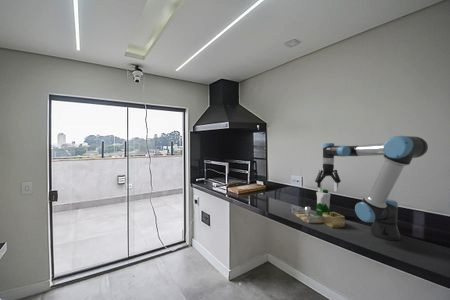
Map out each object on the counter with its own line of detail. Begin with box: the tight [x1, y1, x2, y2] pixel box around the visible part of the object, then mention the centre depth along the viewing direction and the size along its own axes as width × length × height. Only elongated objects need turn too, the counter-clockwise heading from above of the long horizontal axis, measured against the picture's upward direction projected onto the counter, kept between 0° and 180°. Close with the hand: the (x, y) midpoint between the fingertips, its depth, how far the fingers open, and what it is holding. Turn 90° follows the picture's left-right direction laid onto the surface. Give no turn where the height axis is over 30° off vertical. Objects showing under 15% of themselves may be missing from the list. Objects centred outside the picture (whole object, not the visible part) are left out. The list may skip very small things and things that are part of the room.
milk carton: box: [315, 189, 331, 217], centre depth 167 cm, size 9×9×20 cm
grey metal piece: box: [294, 206, 322, 221], centre depth 158 cm, size 19×10×7 cm, turn 12°
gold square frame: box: [321, 211, 346, 229], centre depth 147 cm, size 10×10×7 cm
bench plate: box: [293, 212, 323, 224], centre depth 158 cm, size 19×12×2 cm, turn 12°
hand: (327, 191), depth 156 cm, fingers open, 13 cm apart
